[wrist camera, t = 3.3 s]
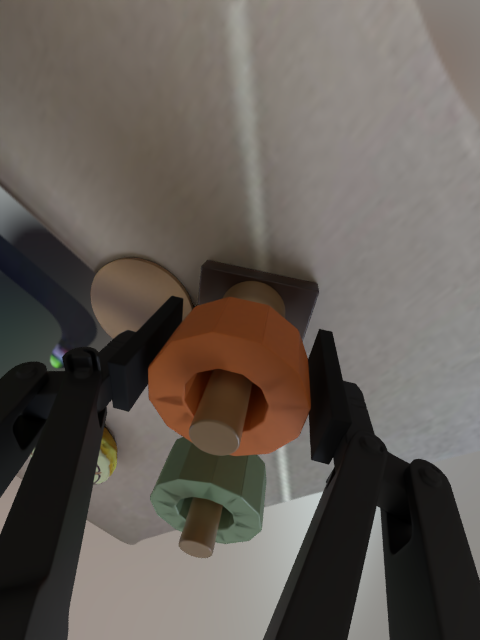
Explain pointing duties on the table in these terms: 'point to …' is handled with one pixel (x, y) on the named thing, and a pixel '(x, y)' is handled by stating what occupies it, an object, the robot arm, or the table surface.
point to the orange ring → (240, 357)
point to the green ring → (212, 489)
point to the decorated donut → (104, 458)
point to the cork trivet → (133, 294)
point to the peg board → (284, 284)
